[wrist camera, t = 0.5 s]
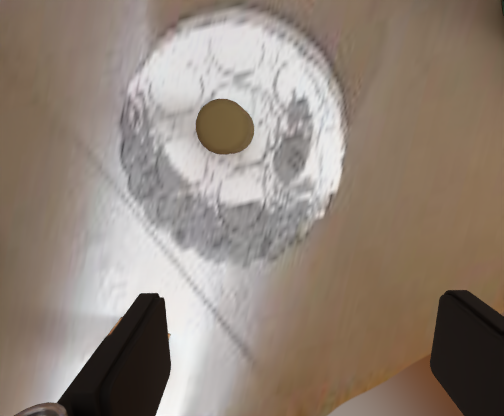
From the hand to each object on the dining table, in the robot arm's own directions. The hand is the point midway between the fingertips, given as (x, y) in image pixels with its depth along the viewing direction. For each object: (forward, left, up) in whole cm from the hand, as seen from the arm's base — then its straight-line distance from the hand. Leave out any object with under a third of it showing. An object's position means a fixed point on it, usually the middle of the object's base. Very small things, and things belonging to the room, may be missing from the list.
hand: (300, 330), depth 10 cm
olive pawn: (-7, -4, -30) cm, 32 cm away
